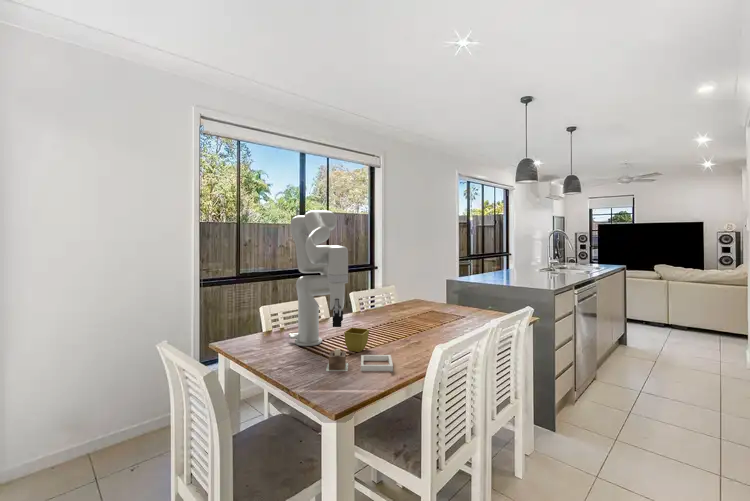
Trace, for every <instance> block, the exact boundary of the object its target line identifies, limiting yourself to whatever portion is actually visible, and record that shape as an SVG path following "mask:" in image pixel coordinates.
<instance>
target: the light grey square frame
mask: <svg viewBox="0 0 750 501" xmlns="http://www.w3.org/2000/svg"><path fill="white" fill-rule="evenodd" d="M392 359H393V358H392V355H391V354H361V355H360V372H390V373H394V365H393V364H394V363H393V360H392ZM364 361H367V362H368V361H369V362H370V361H371V362H373V361H375V362H376V361H377V362H379V361H382V362H384V361H385V362H386V361H387V362H388V364H364Z"/></svg>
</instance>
